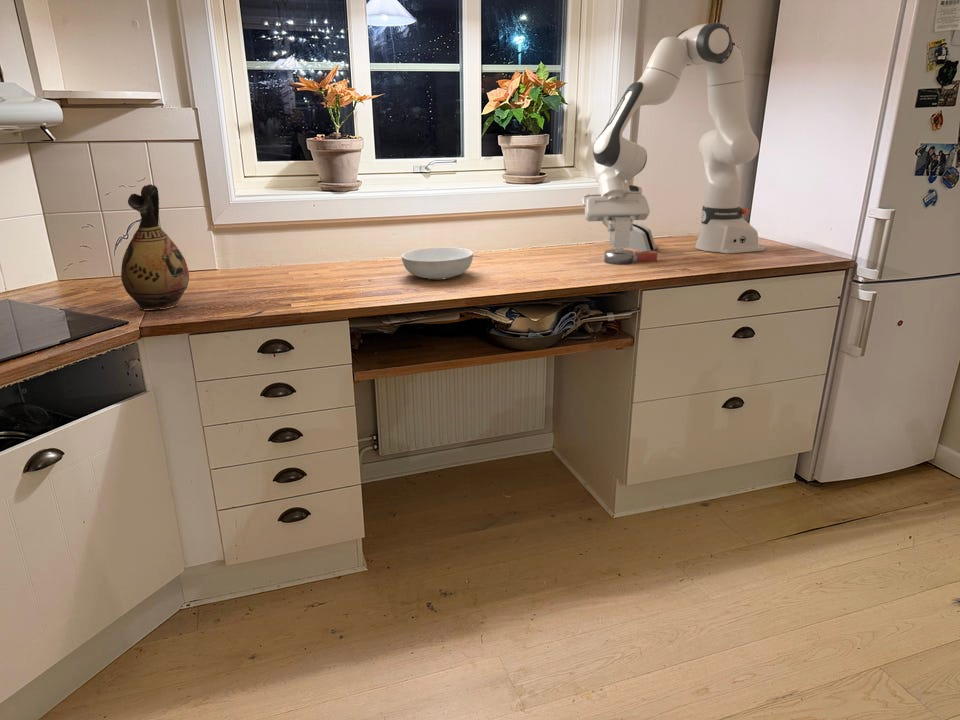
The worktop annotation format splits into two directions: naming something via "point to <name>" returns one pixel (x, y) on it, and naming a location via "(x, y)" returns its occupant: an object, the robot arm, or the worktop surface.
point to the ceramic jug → (152, 258)
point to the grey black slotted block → (641, 238)
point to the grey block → (620, 231)
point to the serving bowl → (437, 262)
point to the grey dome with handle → (628, 256)
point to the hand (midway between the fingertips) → (620, 230)
